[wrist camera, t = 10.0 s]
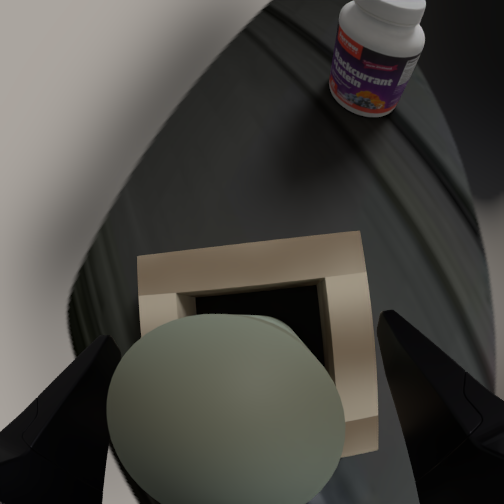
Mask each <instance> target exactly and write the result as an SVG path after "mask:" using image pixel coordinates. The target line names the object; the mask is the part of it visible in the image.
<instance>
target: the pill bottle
mask: <svg viewBox="0 0 504 504" xmlns="http://www.w3.org/2000/svg"><path fill="white" fill-rule="evenodd" d="M425 7H426V3H425V0H354V1H351V2H349V3H347V4H346V5H345V6H344V7H343V8H342V10H341V12H340V15H339V21H338V28H337V35H336V42H335V48H334V55H333V60H332V66H331V72H330V79H329V87H330V91H331V93H332V95H333V97H334V98H335V100H336V101H337V102H338V103H339V104H340V105H342V106H343V107H344V108H346V109H347V110H349V111H351V112H353V113H355V114H358V115H361V116H365V117H381V116H385V115H387V114H389V113H390V112H391V111H392V110H393V109H394V108H395V107H396V105H397V103H398V101H399V99H400V97H401V95H402V93H403V91H404V89H405V87H406V85H407V82H408V80H409V78H410V76H411V74H412V72H413V70H414V67H415V65H416V63H417V61H418V58H419V56H420V54H421V52H422V49H423V46H424V42H425V36H424V32H423V30H422V28H421V26H420V25H419V23H420V21H421V18H422V15H423V13H424V10H425Z"/></svg>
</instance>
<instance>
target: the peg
mask: <svg viewBox="0 0 504 504" xmlns="http://www.w3.org/2000/svg"><path fill="white" fill-rule="evenodd" d="M107 422H108V429H109V433H110V437H111V440H112V443H113V446H114V448H115V451H116V453H117V455H118V457H119V459H120V461H121V462H122V464H123V466H124V467H125V469H126V470H127V472H128V473H129V474H130V476H131V477H132V478H133V479H134V480H135V481H136V483H137V484H138V485H139V486H140V487H141V488H142V489H143V490H144V491H146V492H147V493H148V494H149V495H150V496H151V497H153V498H154V499H155V500H157V501H158V502H160V503H161V504H306V503H307V502H309V501H310V500H311V499H312V498H313V497H315V496H316V495H317V494H318V493H319V492H320V491H321V490H322V489H323V487H324V486H325V485H326V483H327V482H328V481H329V480H330V478H331V476H332V475H333V473H334V471H335V469H336V468H337V465H338V463H339V460H340V458H341V455H342V451H343V446H344V442H345V426H346V425H345V416H344V409H343V406H342V402H341V398H340V395H339V393H338V391H337V389H336V386H335V384H334V382H333V380H332V379H331V377H330V376H329V374H328V372H327V371H326V369H325V368H324V367H323V365H322V364H321V363H320V362H319V361H318V360H317V358H316V357H315V356H314V355H313V354H312V353H311V351H310V350H309V349H308V348H307V347H306V346H305V344H304V343H303V342H302V341H301V340H300V339H299V337H298V336H297V335H296V334H295V333H294V331H293V330H292V329H291V328H290V327H289V326H288V325H287V324H285V323H284V322H283V321H281V320H279V319H276V318H274V317H270V316H259V315H232V314H201V315H194V316H187V317H183V318H180V319H176V320H173V321H170V322H168V323H165V324H163V325H161V326H158V327H157V328H155V329H153V330H152V331H150V332H148V333H147V334H145V335H144V336H143V337H142V338H140V339H139V340H138V341H137V342H136V343H134V345H133V346H132V347H131V348H130V349H129V350H128V351H127V352H126V353H125V355H124V356H123V358H122V359H121V361H120V362H119V364H118V366H117V368H116V370H115V372H114V374H113V376H112V380H111V383H110V386H109V390H108V397H107Z"/></svg>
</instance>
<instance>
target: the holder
mask: <svg viewBox="0 0 504 504" xmlns="http://www.w3.org/2000/svg"><path fill="white" fill-rule="evenodd" d="M137 268H138V295H139V312H140V327H141V338H142V337H143V336H144V335H145V334H147V333H148V332H150V331H152V330H153V329H155V328H157V327H158V326H161V325H163V324H165V323H168V322H170V321H173V320H176V319H180V318H183V317H187V316H194V315H197V312H196V299H195V298H196V297H208V296H219V295H230V294H240V293H250V292H259V291H269V290H278V289H287V288H296V287H304V286H312V285H317V293H318V302H319V311H320V320H321V330H322V340H323V351H324V363H325V369H326V371H327V372H328V374H329V376H330V377H331V379H332V380H333V382H334V384H335V386H336V389H337V391H338V393H339V395H340V398H341V402H342V406H343V409H344V416H345V425H346V426H345V442H344V446H343V451H342V455H341V457H347V456H352V455H357V454H362V453H367V452H371V451H375V450H378V392H377V371H376V356H375V343H374V332H373V321H372V312H371V303H370V295H369V287H368V280H367V273H366V266H365V260H364V253H363V247H362V241H361V236H360V231H351V232H342V233H333V234H324V235H315V236H306V237H297V238H288V239H279V240H270V241H261V242H253V243H244V244H235V245H227V246H218V247H210V248H201V249H193V250H184V251H176V252H168V253H160V254H151V255H143V256H137Z"/></svg>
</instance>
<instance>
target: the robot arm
mask: <svg viewBox="0 0 504 504" xmlns="http://www.w3.org/2000/svg"><path fill="white" fill-rule="evenodd" d="M377 337H378V341H379V346H380V350H381V355H382V360H383V365H384V370H385V374H386V378H387V381H388V384H389V388H390V391H391V394H392V397H393V400H394V404H395V407H396V410H397V414H398V417H399V421H400V424H401V428H402V431H403V435H404V439H405V442H406V446H407V450H408V454H409V458H410V462H411V466H412V470H413V474H414V478H415V481H416V482H415V483H416V488H417V492H418V497H419V502H420V504H504V401H503V400H502V399H500V398H499V397H497V396H496V395H495V394H493V393H492V392H491V391H489V390H488V389H487V388H485V387H484V386H483V385H482V384H481V383H479V382H478V381H477V380H476V379H475V378H473V377H472V376H471V375H470V374H469V373H468V372H465V370H464V369H463V368H462V367H461V366H460V365H458V364H457V363H456V362H455V361H454V360H453V359H452V358H450V357H449V356H448V355H447V354H446V353H445V352H443V351H442V350H441V349H440V348H439V347H438V346H436V345H435V344H434V343H433V342H432V341H430V340H429V339H428V338H427V337H426V336H424V335H423V334H422V333H421V332H420V331H419V330H417V329H416V328H415V327H414V326H412V325H411V324H410V323H409V322H408V321H406V320H405V319H404V318H403V317H402V316H400V315H399V314H398V313H397V312H395V311H394V310H387V311H382V312H381V313H380V317H379V321H378V326H377ZM120 361H121V352H120V349H119V348H118V346H117V344H116V343H115V341H114V340H113V338H112V337H111V336H110V335H101V336H99V337H98V338H97V339H96V340H94V341H93V342H92V343H91V344H90V345H89V346H88V347H87V348H86V349H85V350H84V351H83V352H82V353H81V354H80V355H79V356H78V357H77V358H76V359H75V360H74V361H73V362H72V363H71V364H70V365H69V366H68V367H67V368H66V369H65V370H64V371H63V372H62V373H61V374H60V375H59V376H58V377H57V378H56V379H55V380H54V381H53V382H52V383H51V384H50V385H49V386H48V387H47V388H46V389H45V390H44V391H43V392H42V393H41V394H40V395H39V396H38V398H36V399H35V400H34V401H33V402H32V403H31V404H30V405H29V406H28V407H27V408H26V409H25V410H24V411H23V412H22V413H21V414H20V415H19V416H18V417H17V418H16V419H14V420H13V421H12V422H11V423H10V424H9V425H8V426H6V427H5V428H4V429H3V430H2V431H1V432H0V504H102V498H103V486H104V477H105V468H106V460H107V453H108V446H109V439H110V433H109V429H108V422H107V397H108V390H109V386H110V383H111V380H112V376H113V374H114V372H115V370H116V368H117V366H118V364H119V362H120Z"/></svg>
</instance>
